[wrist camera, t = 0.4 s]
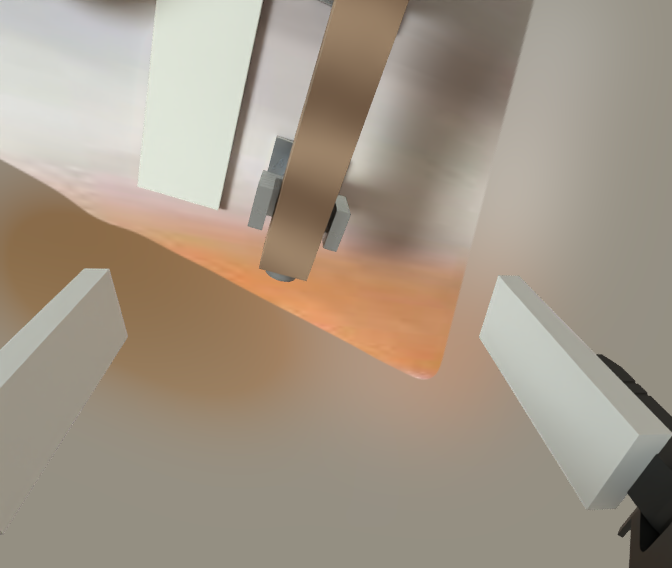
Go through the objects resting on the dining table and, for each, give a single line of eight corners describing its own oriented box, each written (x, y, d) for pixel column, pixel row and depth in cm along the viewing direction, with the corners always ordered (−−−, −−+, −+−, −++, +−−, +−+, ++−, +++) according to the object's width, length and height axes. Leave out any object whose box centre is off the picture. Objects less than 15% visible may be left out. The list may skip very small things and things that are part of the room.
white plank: (184, -240, 22) (181, -247, 22) (300, -176, 24) (300, -181, 23) (140, 184, 34) (137, 186, 34) (219, 207, 36) (218, 210, 35)
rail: (390, -198, 19) (410, -254, 15) (452, -161, 20) (484, -206, 16) (260, 255, 31) (255, 280, 27) (302, 266, 32) (302, 292, 28)
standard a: (274, 134, 33) (263, 162, 24) (345, 159, 34) (358, 194, 26) (257, 199, 36) (242, 244, 27) (323, 219, 37) (329, 269, 29)
